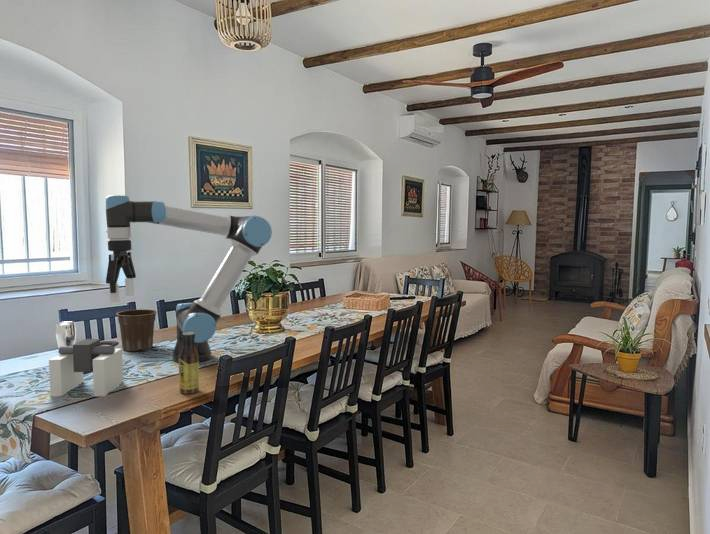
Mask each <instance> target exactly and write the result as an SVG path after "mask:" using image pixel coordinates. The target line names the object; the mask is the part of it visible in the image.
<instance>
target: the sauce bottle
mask: <svg viewBox="0 0 710 534" xmlns="http://www.w3.org/2000/svg"><path fill="white" fill-rule="evenodd" d="M182 338H183V345H182V349H181V352H180V355H179V362H178V386H179V387H178V388H179V393H182V394H183V395H190V394H195V393H197V392H198V391H199V388H200V368H199V367H200V362H199V360H198V351H197V349H196V348H195V341H194V339H195V333H194V332H185V333H182Z"/></svg>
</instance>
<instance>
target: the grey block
mask: <svg viewBox="0 0 710 534" xmlns="http://www.w3.org/2000/svg"><path fill="white" fill-rule="evenodd" d="M100 342H101V338H84V339H82V340H80V341H78V342H75V344H74V345H73V364H74V372H87V373H91V372H93V370H92V366H93V359H95V358H96V357H98V356H100V355H101V354H91V348H93V347H95V346H100Z"/></svg>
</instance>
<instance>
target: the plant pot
mask: <svg viewBox="0 0 710 534" xmlns="http://www.w3.org/2000/svg"><path fill="white" fill-rule="evenodd" d="M157 313H158V311H157V310H155V309H129V310H123V311H118V312H116V314H115V315H116V316H117V321H118V322H117V323H118V324H119V328H120V338H121V345H122V346H121V347H122V351H126V352H139V351H146V350H151V349H152V348H153V346H154V332H155V331H154V330H155V321H156V315H157Z"/></svg>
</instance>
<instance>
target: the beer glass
mask: <svg viewBox="0 0 710 534" xmlns="http://www.w3.org/2000/svg"><path fill="white" fill-rule="evenodd" d="M55 325H56V326H55V337H56V343H57V347H58V348H59V347H60V346H73V345H74V344H76V339H77V328H76V327H77V326H76V321H72V320H71V321H59V322H57V323H55Z"/></svg>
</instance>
